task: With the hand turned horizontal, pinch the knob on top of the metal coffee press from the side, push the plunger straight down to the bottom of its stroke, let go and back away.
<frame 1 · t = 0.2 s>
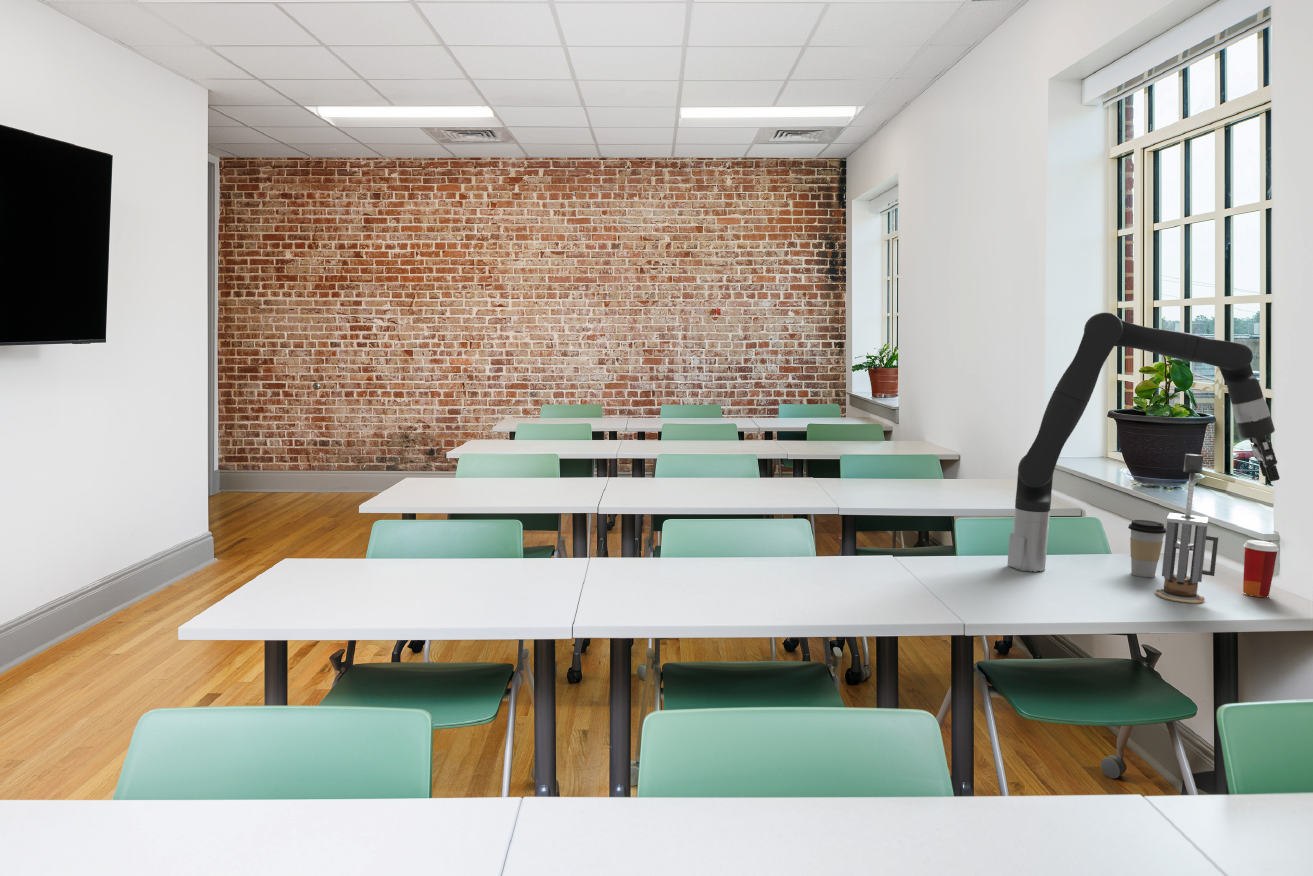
hand: (1271, 478, 226), 32 cm above the table, tool tilted 20°, fingers open, 8 cm apart
coffee cup: (1142, 575, 248), on the table
paper cup: (1255, 595, 231), on the table
press frame: (1179, 597, 227), on the table
plunger: (1189, 501, 224), point 25 cm above the table, slide at 0.0 cm
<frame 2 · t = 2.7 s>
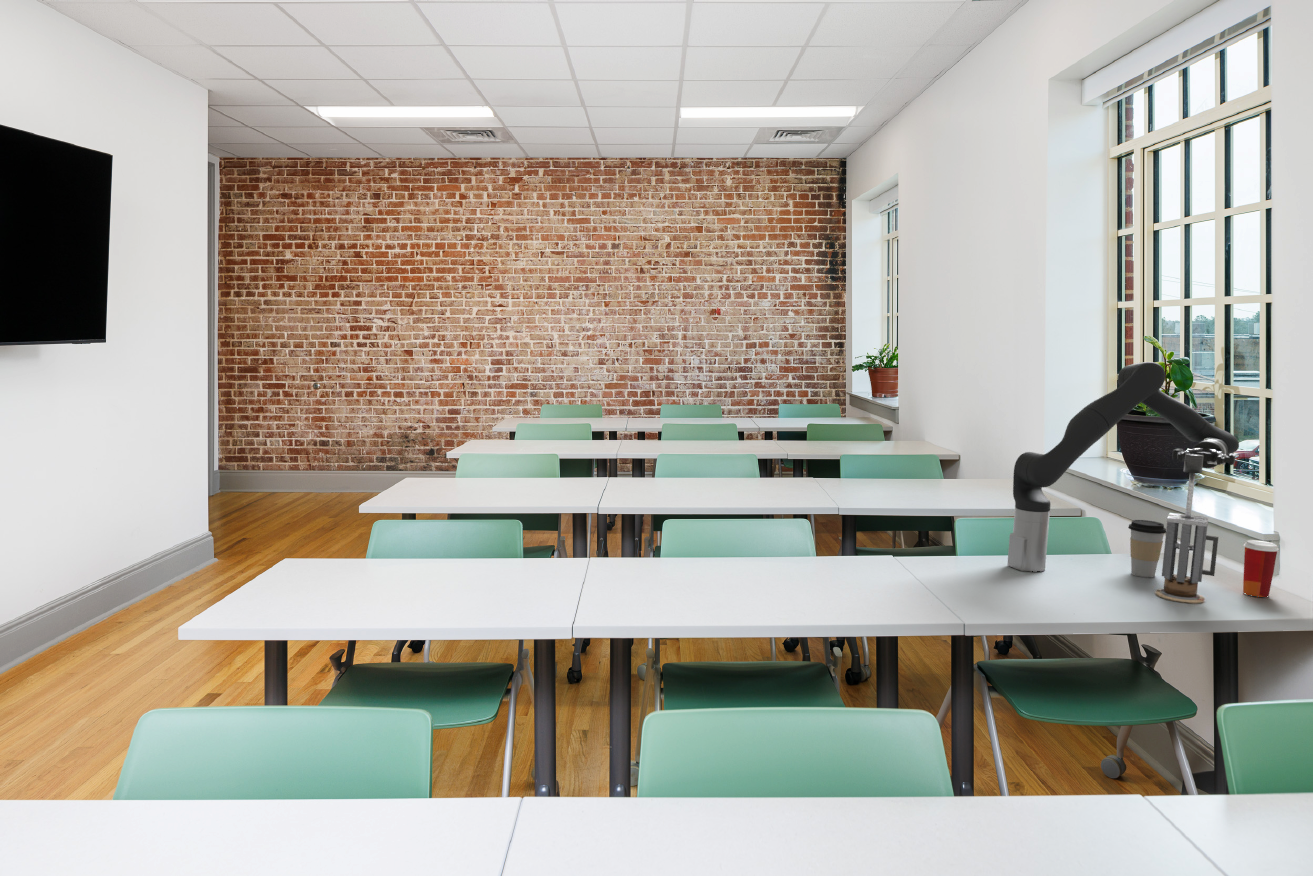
hand: (1199, 459, 231), 35 cm above the table, tool horizontal, fingers open, 8 cm apart
nothing on the table moved.
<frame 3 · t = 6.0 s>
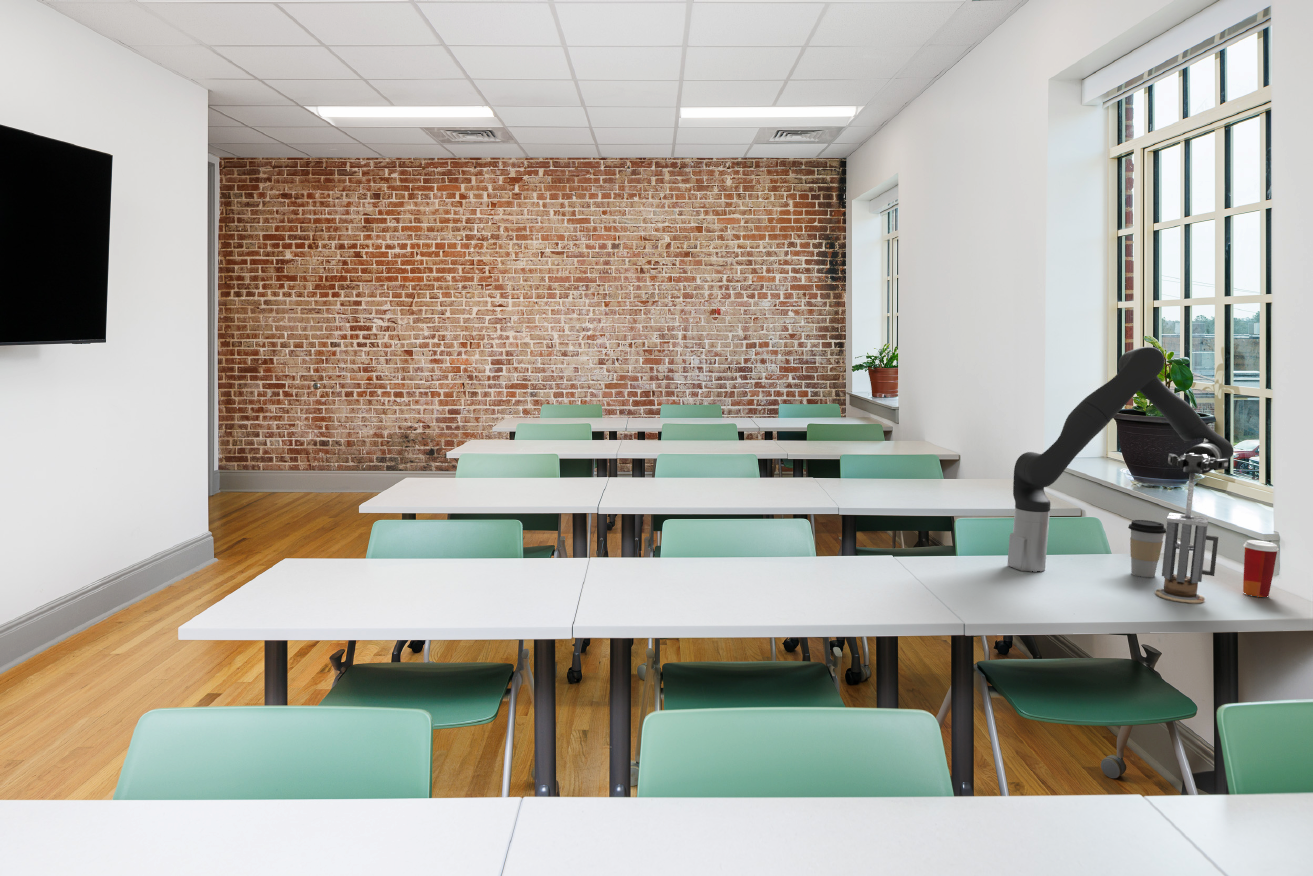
hand: (1191, 464, 220), 35 cm above the table, tool horizontal, fingers closed on plunger, 4 cm apart
plunger: (1189, 501, 224), point 25 cm above the table, slide at 0.0 cm, touching gripper
everything else where it was.
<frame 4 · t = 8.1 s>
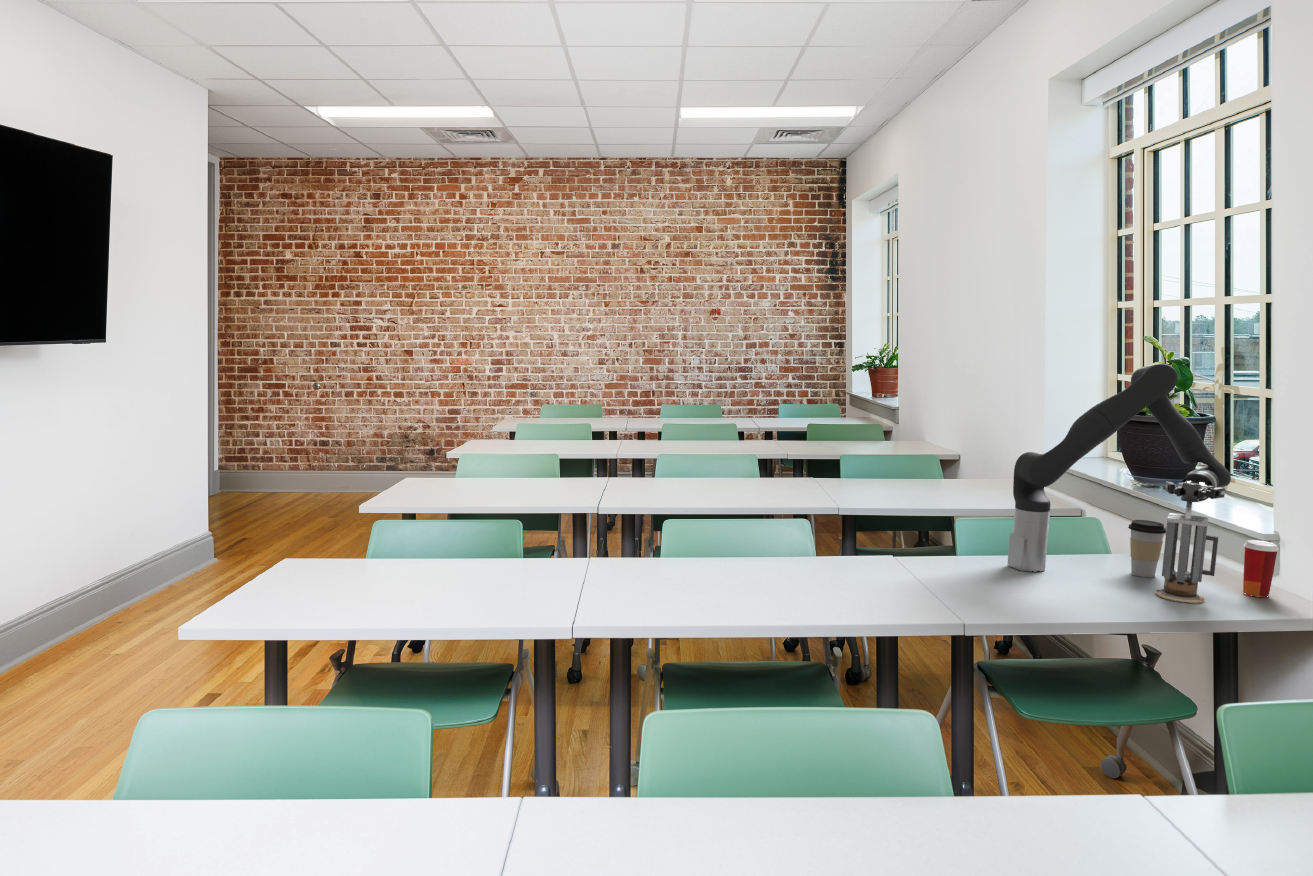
hand: (1188, 493, 221), 28 cm above the table, tool horizontal, fingers closed on plunger, 4 cm apart
plunger: (1186, 530, 225), point 18 cm above the table, slide at 7.4 cm, touching gripper
everything else where it was.
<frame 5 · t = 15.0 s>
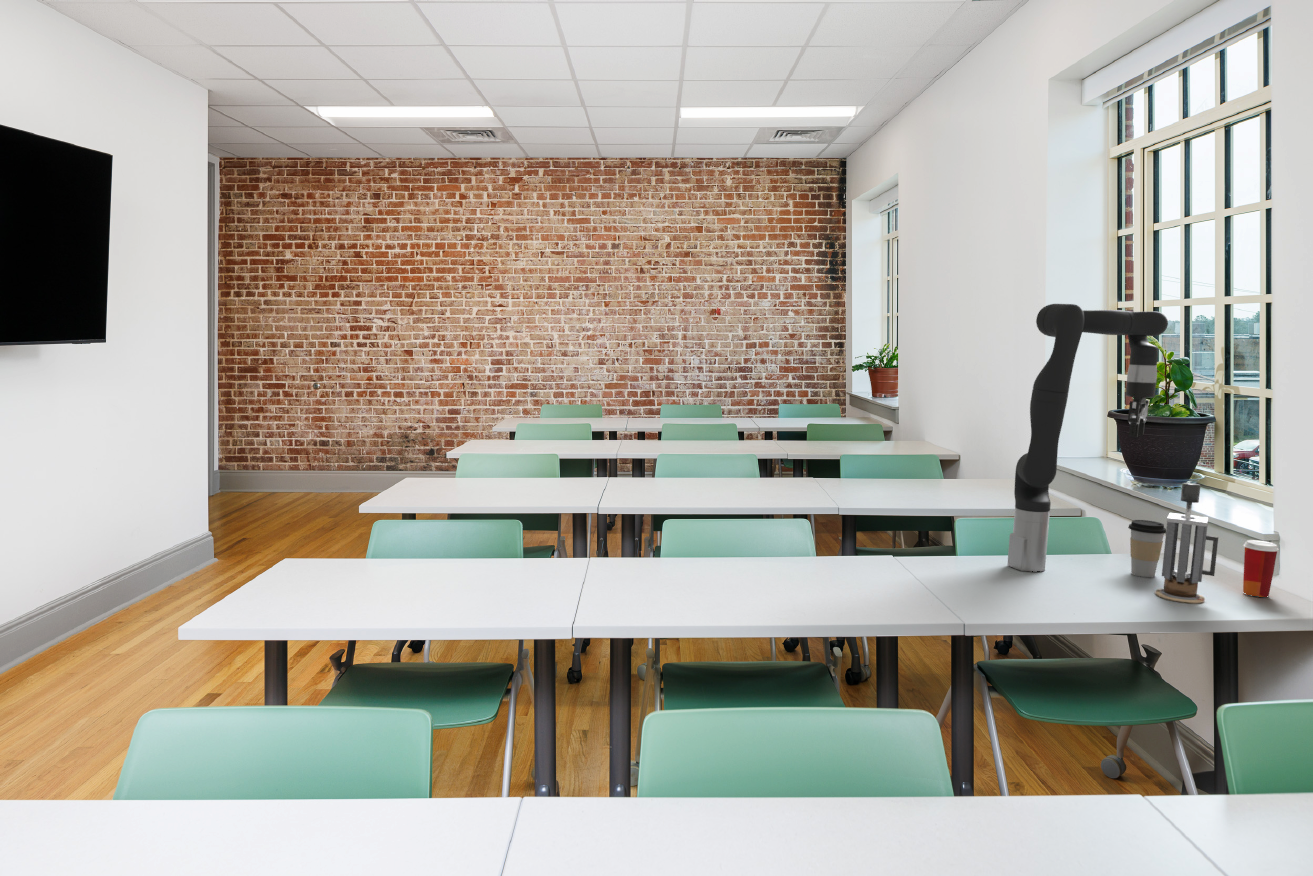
hand: (1136, 436, 256), 38 cm above the table, tool pointing down, fingers open, 8 cm apart
plunger: (1186, 530, 225), point 18 cm above the table, slide at 7.5 cm
everything else where it was.
at the end: plunger slide at 7.5 cm; the gripper is holding nothing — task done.
